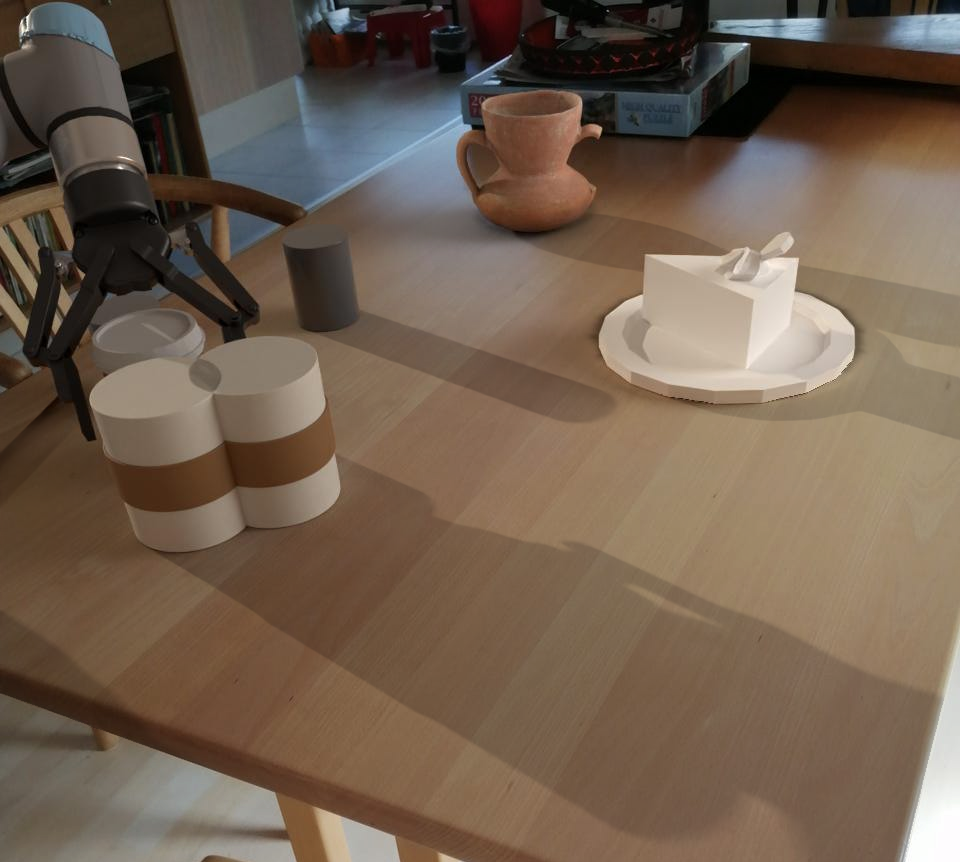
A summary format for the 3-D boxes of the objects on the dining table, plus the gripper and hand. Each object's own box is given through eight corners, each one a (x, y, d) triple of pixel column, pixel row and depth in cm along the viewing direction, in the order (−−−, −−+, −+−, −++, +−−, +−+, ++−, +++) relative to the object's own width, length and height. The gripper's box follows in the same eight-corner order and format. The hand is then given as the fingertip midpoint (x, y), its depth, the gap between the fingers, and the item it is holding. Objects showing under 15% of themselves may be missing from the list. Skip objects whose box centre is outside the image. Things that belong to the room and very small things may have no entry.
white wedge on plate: (887, 319, 106) (910, 205, 99) (794, 428, 91) (814, 304, 84) (668, 277, 117) (675, 173, 110) (554, 369, 102) (552, 255, 95)
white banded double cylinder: (109, 549, 84) (61, 417, 76) (181, 456, 94) (145, 331, 86) (306, 563, 80) (276, 426, 73) (357, 465, 91) (336, 336, 83)
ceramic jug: (602, 200, 138) (603, 82, 129) (599, 240, 127) (600, 115, 118) (468, 204, 140) (460, 88, 131) (454, 244, 129) (444, 121, 120)
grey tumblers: (99, 398, 104) (70, 312, 98) (333, 299, 119) (321, 219, 113) (135, 420, 100) (107, 332, 94) (373, 315, 115) (361, 233, 109)
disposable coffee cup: (109, 456, 95) (66, 332, 87) (200, 417, 99) (167, 296, 92) (158, 495, 89) (118, 367, 81) (252, 452, 94) (222, 327, 86)
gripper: (247, 187, 97) (308, 403, 96) (-30, 234, 92) (30, 463, 91) (244, 141, 89) (310, 374, 88) (-57, 189, 84) (8, 437, 83)
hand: (168, 419), depth 90 cm, fingers open, 13 cm apart
